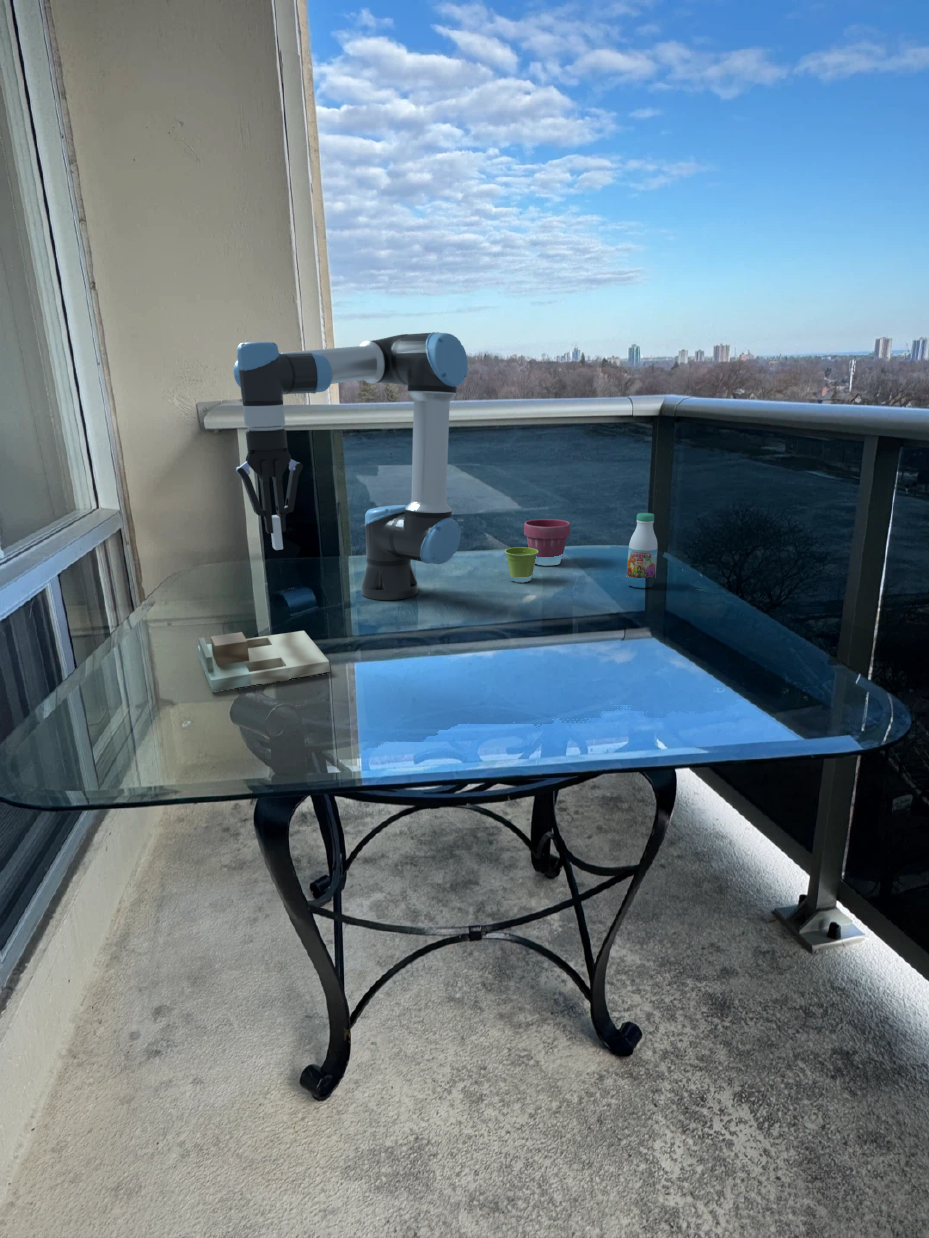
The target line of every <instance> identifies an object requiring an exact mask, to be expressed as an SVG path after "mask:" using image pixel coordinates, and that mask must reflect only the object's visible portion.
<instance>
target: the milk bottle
mask: <svg viewBox="0 0 929 1238" xmlns="http://www.w3.org/2000/svg"><path fill="white" fill-rule="evenodd" d="M654 523H655V514H654V513H650V512H639V513H637V514H636V527H635V530H634V532H633V533H632V536H631V537H630V540H629V544H628V551H627V553H628V555H627V566H626V577H627V576H628V577H634V578H648V577H653V576H654V575H655V576H656V574H657V573H656V572H657V571H656V570H657V562H658V561H657V559H658V558H657V557H658V539H657V536H656V534H655V531H654Z"/></svg>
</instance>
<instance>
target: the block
mask: <svg viewBox="0 0 929 1238" xmlns="http://www.w3.org/2000/svg"><path fill="white" fill-rule="evenodd" d="M246 639H247V638H246V636H245V635H244V633H243V631H240V632H233V633H227V634H226V633H225V634H218V635H213V636H212V635H211V636H210V640H211V641H210V642H211V643H210V644H212V653H213V657H214V659H215V662H216V664H217V666H218V665H224V664H231V663H237V662H244V661H249V653H248V643H247V640H246Z"/></svg>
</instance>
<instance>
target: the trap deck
mask: <svg viewBox="0 0 929 1238" xmlns="http://www.w3.org/2000/svg"><path fill="white" fill-rule="evenodd" d="M197 640H198V645H197V652H198V658H199V661H200V663H201V667H202V669H203V672H204V674H205V677H206V679H207V680H206V681H207V682H208V684H209V685H208V686H209V688H210V687H211V688H210V690H211V689H212V690H211V693H212V692H214V691H221V690H227V689H232V688H235V687H243V686H246V685H256V684H262V685H267V683H268V684H274V683H277V682H276V681H280V682H285V681H290V680H289V679H291V678H295V677H299V676H301V675H311V674H318V673H324V672H329V671H330V672H331V670H330V661H329V659H328V658H327V657H326V656H325V655H324V653H323V652H322V651H321V649H320V648H319V647H318V646H317V645H316V643H315V642H314V641H313V640H312V639H311V638H310V636H309V635H308V634H307V632H306V631H305V630H299V631H292V632H286V633H279V634H271V635H264V636H256V637H251V638H246V640H247V643H248V653H249V661H244V662H237V663H231V664H224V665H218V666H217V664H216V662H215V659H214V657H213V653H212V644H211V643H208V644H207V642H206V638H204V637H198V639H197ZM273 682H274V683H273ZM256 686H257V685H256ZM227 691H228V690H227ZM221 692H222V691H221Z"/></svg>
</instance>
